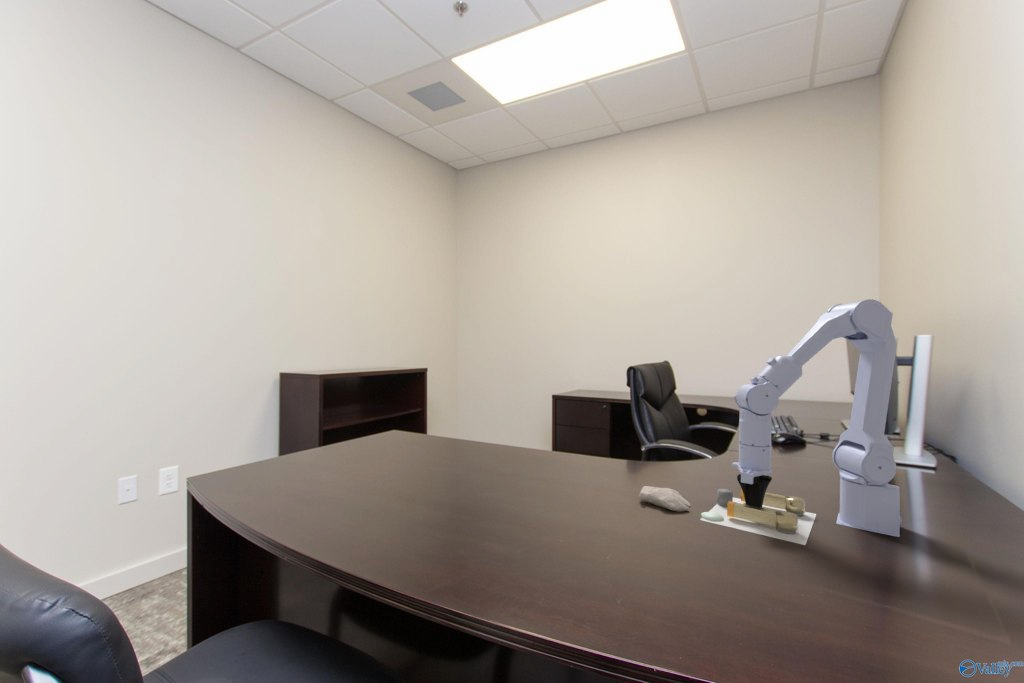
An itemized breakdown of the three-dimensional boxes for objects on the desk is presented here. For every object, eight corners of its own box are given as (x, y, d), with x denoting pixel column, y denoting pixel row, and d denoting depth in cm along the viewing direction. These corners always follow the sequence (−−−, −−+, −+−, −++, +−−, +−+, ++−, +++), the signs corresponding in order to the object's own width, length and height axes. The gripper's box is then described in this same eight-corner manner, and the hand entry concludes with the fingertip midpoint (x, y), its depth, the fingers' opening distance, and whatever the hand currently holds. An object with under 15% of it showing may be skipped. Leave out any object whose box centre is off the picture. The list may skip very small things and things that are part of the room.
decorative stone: (698, 520, 92) (679, 502, 107) (701, 500, 93) (681, 486, 108) (644, 509, 94) (632, 493, 108) (646, 490, 94) (634, 477, 109)
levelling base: (816, 516, 94) (816, 499, 94) (805, 547, 79) (805, 527, 79) (723, 497, 106) (723, 482, 106) (697, 521, 90) (697, 503, 90)
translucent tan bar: (798, 527, 85) (799, 513, 85) (796, 533, 82) (796, 519, 82) (730, 512, 92) (730, 499, 92) (725, 517, 90) (726, 504, 90)
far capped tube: (806, 510, 94) (806, 498, 95) (804, 515, 92) (804, 502, 92) (743, 498, 102) (743, 486, 102) (739, 501, 99) (740, 490, 99)
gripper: (741, 436, 100) (740, 499, 99) (724, 446, 88) (723, 517, 88) (778, 441, 95) (777, 506, 95) (765, 452, 84) (764, 526, 84)
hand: (753, 512), depth 91 cm, fingers closed
